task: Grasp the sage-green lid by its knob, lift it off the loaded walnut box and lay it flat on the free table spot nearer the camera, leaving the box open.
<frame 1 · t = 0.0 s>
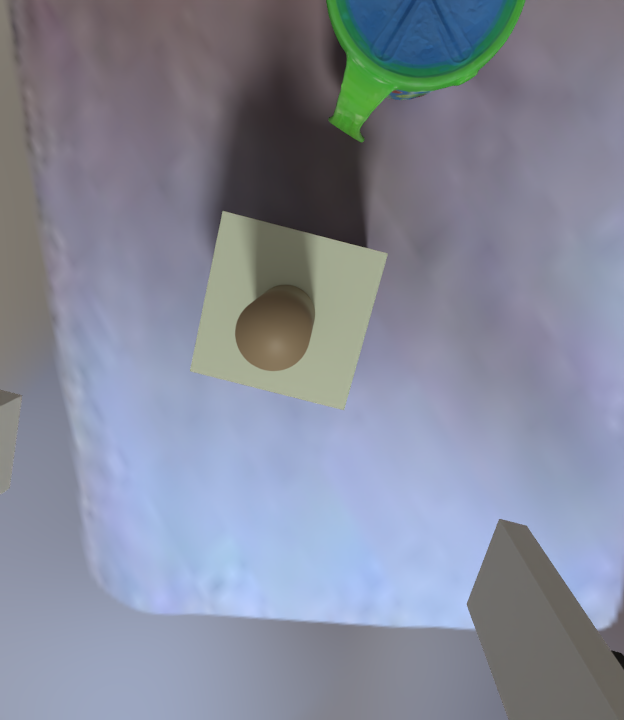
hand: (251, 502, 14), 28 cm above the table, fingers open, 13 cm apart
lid: (287, 311, 33), point 8 cm above the table, touching box
snack cup: (401, 46, 37), on the table
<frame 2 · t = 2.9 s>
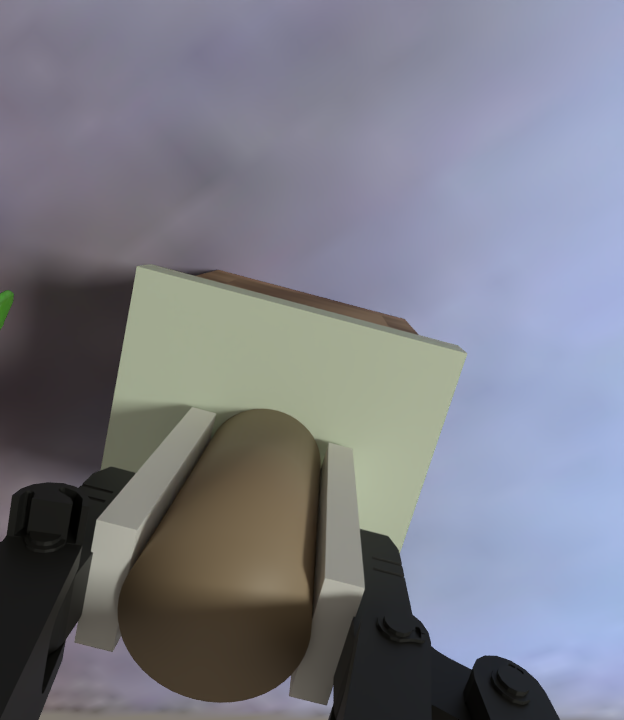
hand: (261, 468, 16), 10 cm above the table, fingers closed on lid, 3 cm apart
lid: (268, 448, 18), point 8 cm above the table, touching box, gripper
box: (288, 384, 25), on the table
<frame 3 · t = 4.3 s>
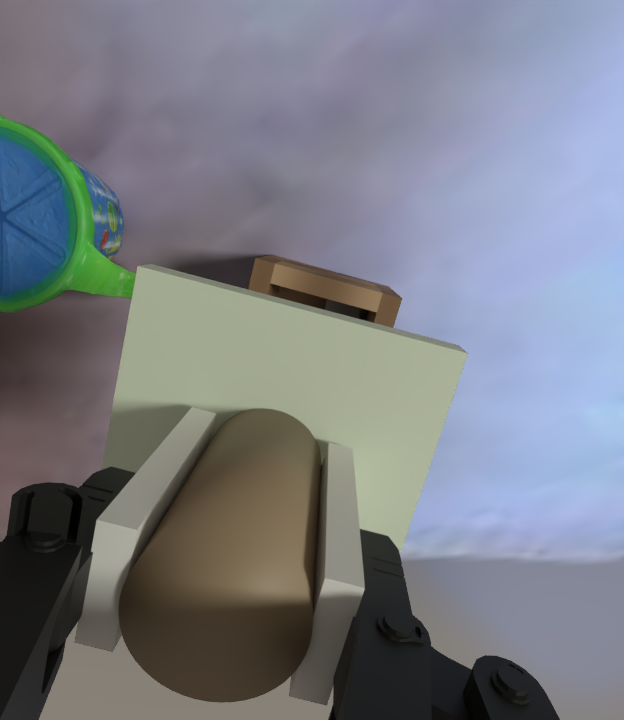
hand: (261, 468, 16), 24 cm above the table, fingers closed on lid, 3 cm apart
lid: (269, 448, 18), point 23 cm above the table, touching gripper
snack cup: (79, 222, 39), on the table
box: (314, 328, 40), on the table
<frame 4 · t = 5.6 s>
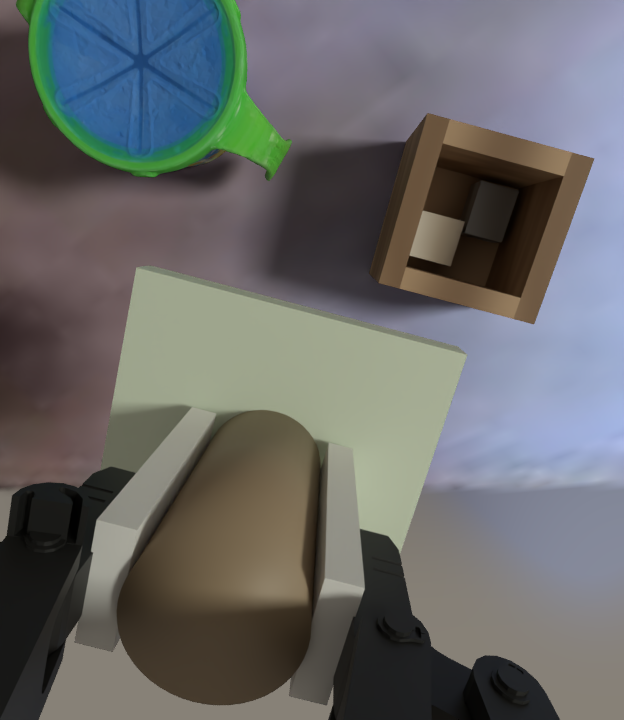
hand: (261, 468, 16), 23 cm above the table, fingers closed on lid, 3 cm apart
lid: (268, 449, 18), point 21 cm above the table, touching gripper
snack cup: (190, 108, 35), on the table
box: (450, 226, 36), on the table
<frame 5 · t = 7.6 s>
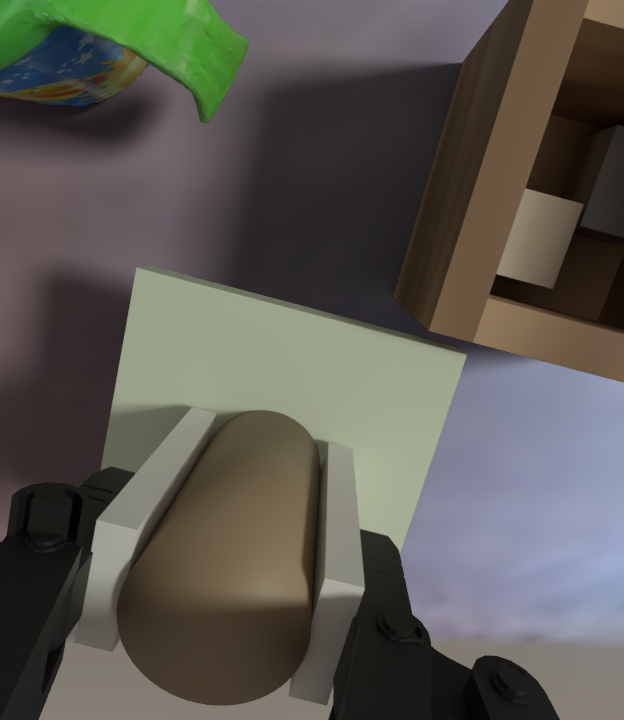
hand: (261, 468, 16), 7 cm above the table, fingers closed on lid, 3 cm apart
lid: (268, 449, 18), point 5 cm above the table, touching gripper
snack cup: (77, 4, 20), on the table
box: (536, 215, 20), on the table
when the fingers open (4 cm above the table, at t = 8.8 s): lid drops 3 cm, on the table.
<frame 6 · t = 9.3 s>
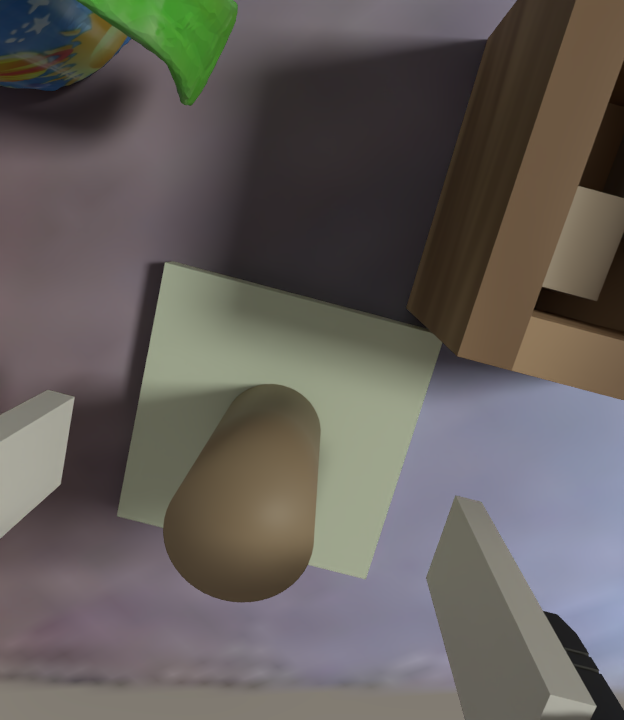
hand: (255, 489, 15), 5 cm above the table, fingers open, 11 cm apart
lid: (275, 420, 20), on the table
box: (570, 215, 18), on the table
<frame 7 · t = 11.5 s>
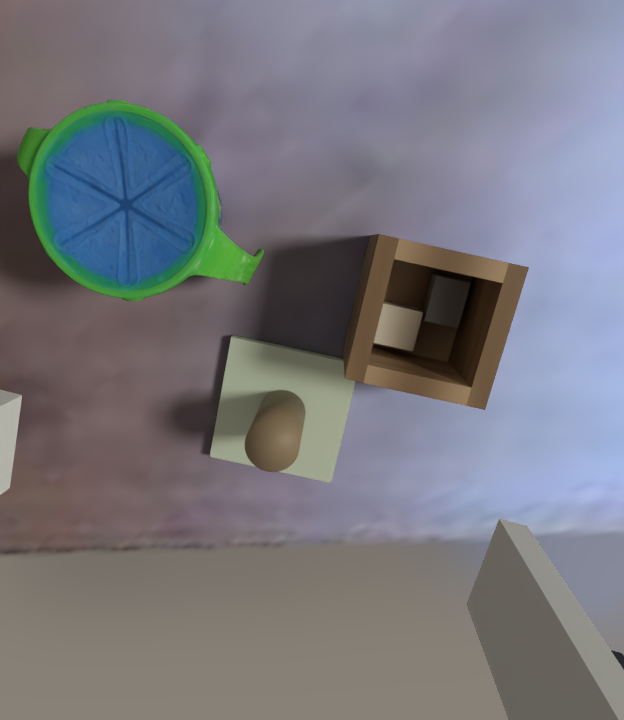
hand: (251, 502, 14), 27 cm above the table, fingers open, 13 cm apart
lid: (284, 407, 42), on the table
snack cup: (175, 213, 39), on the table
box: (414, 308, 39), on the table
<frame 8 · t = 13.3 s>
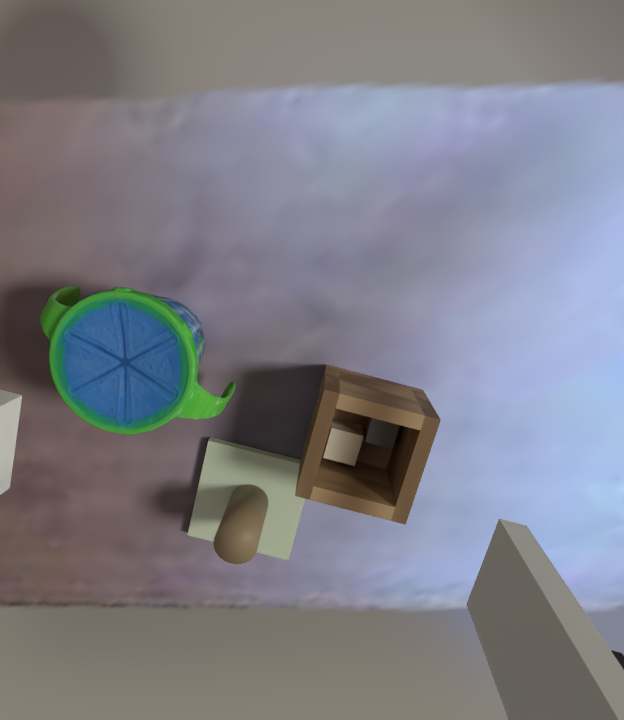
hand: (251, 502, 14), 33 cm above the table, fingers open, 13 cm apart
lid: (251, 495, 50), on the table
snack cup: (166, 338, 47), on the table
box: (360, 423, 48), on the table
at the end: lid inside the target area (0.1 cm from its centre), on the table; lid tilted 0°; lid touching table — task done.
